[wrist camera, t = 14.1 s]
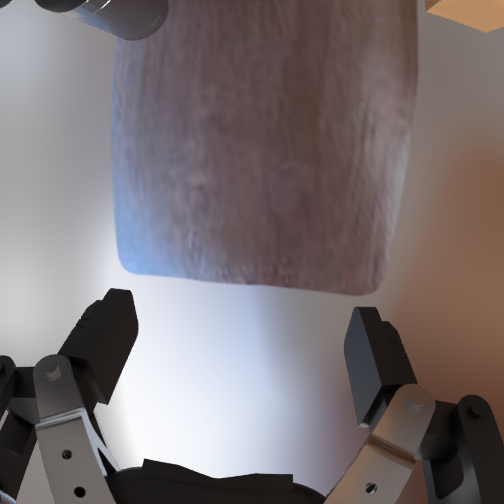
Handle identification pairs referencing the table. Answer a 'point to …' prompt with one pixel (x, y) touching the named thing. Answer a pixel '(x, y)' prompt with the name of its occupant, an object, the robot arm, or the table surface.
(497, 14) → the tan piece
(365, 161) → the table surface
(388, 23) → the table surface
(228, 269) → the table surface
